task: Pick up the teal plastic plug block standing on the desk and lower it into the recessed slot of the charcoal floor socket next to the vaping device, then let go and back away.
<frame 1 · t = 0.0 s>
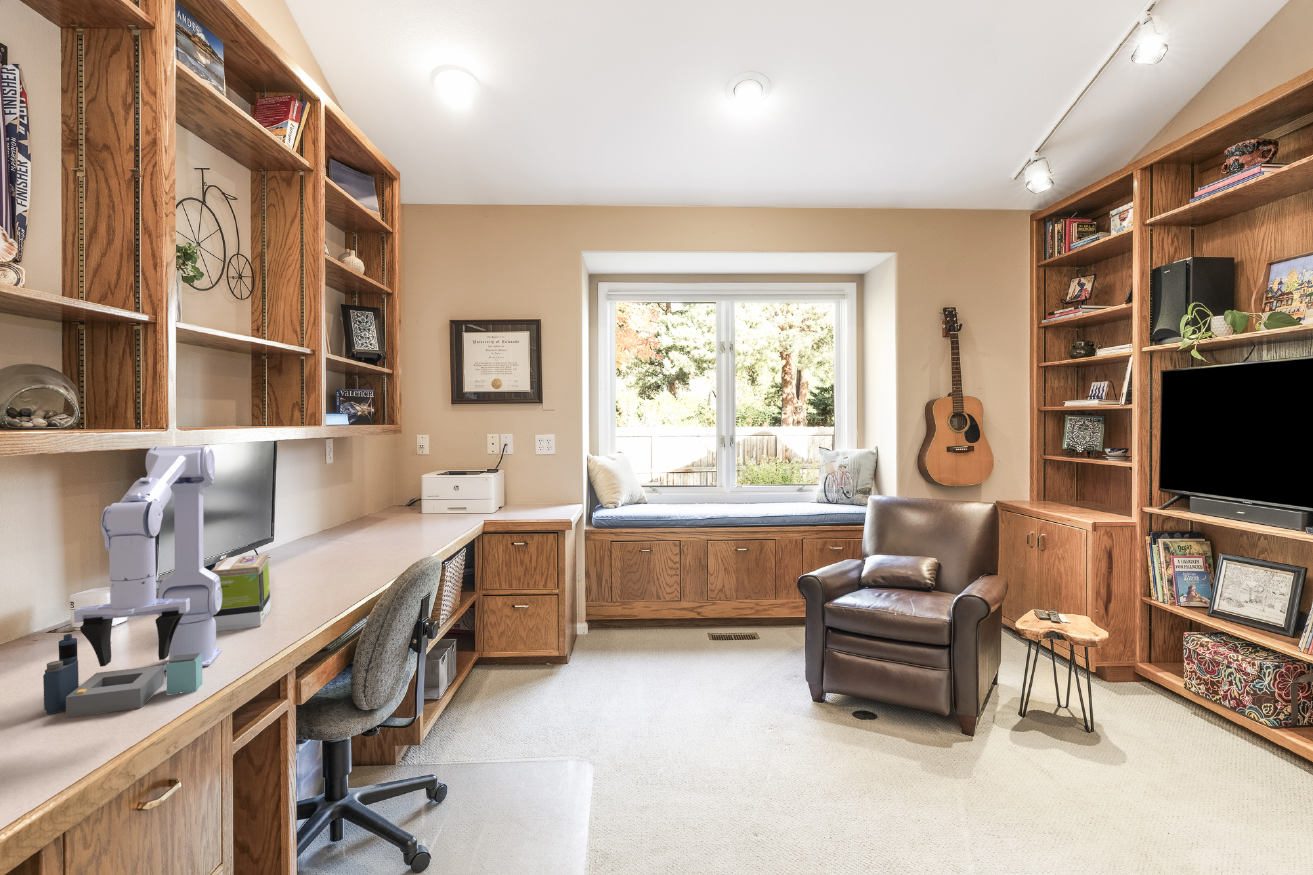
hand: (135, 661, 103), 10 cm above the table, tool pointing down, fingers open, 7 cm apart
tea box: (242, 621, 156), on the table
plug: (185, 689, 116), on the table
vaping device: (62, 708, 109), on the table
socket: (118, 699, 112), on the table
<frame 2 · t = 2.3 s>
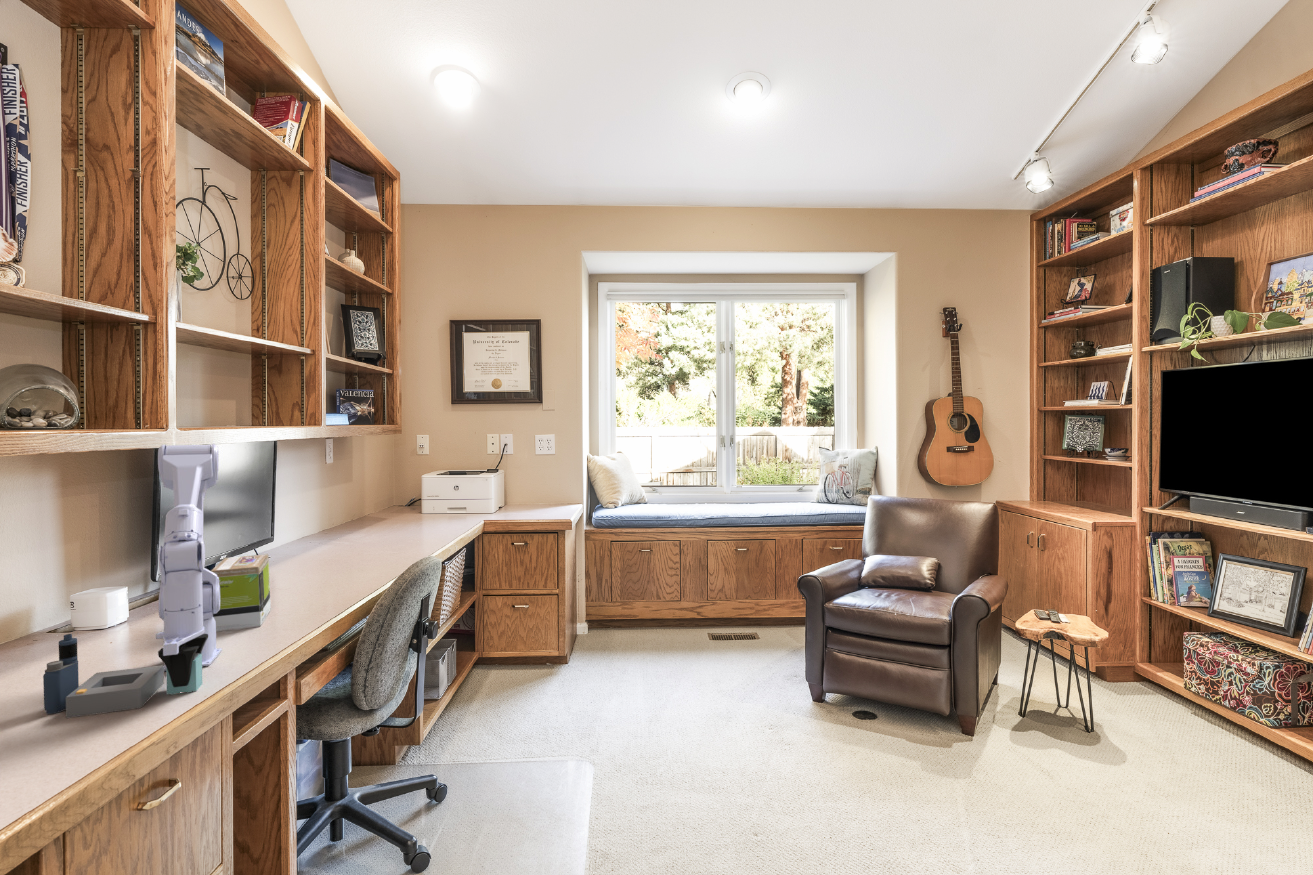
hand: (184, 681, 116), 1 cm above the table, tool pointing down, fingers closed on plug, 4 cm apart
plug: (185, 689, 116), on the table, touching gripper
everything else where it was.
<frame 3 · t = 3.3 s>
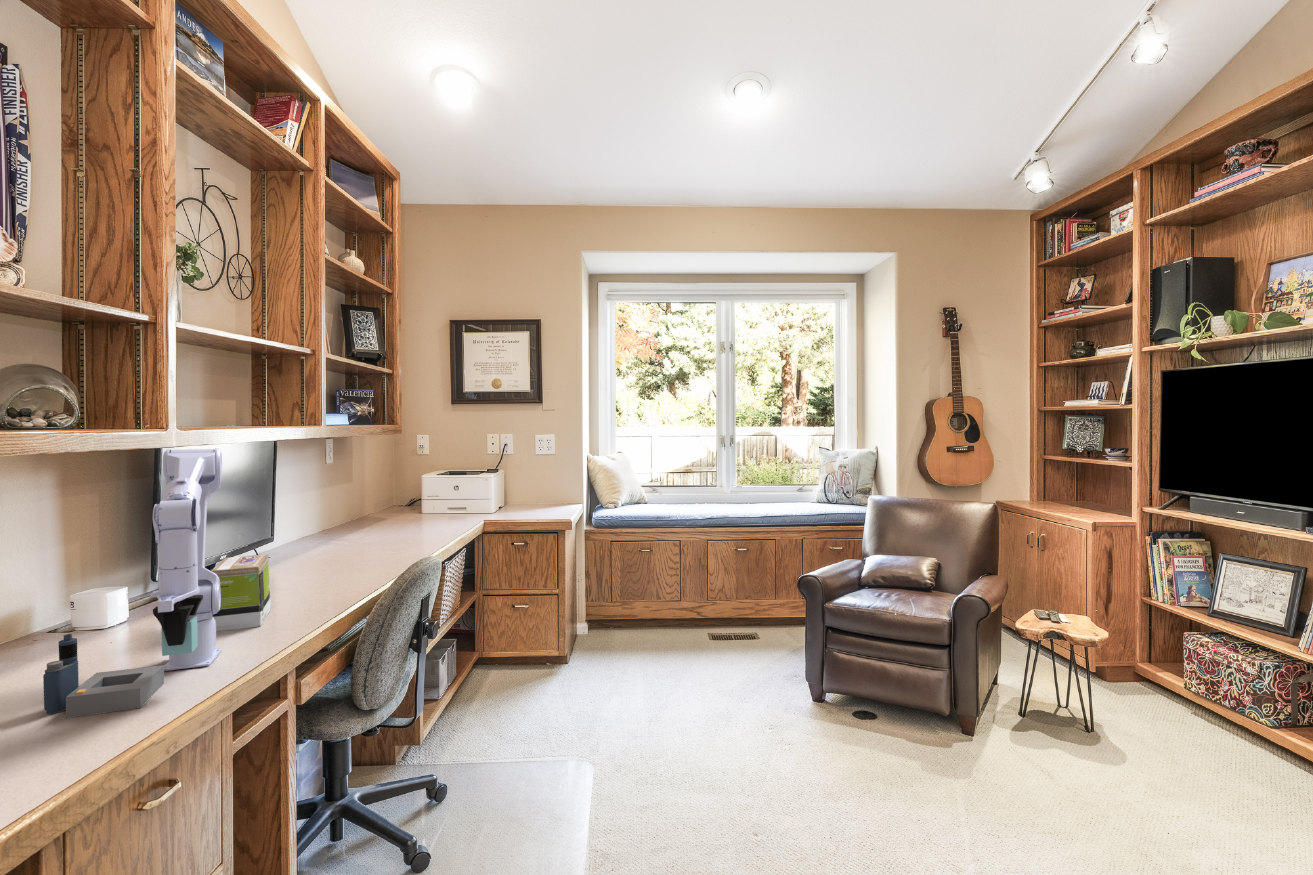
hand: (179, 641, 116), 9 cm above the table, tool pointing down, fingers closed on plug, 4 cm apart
plug: (180, 650, 116), point 7 cm above the table, touching gripper
everything else where it was.
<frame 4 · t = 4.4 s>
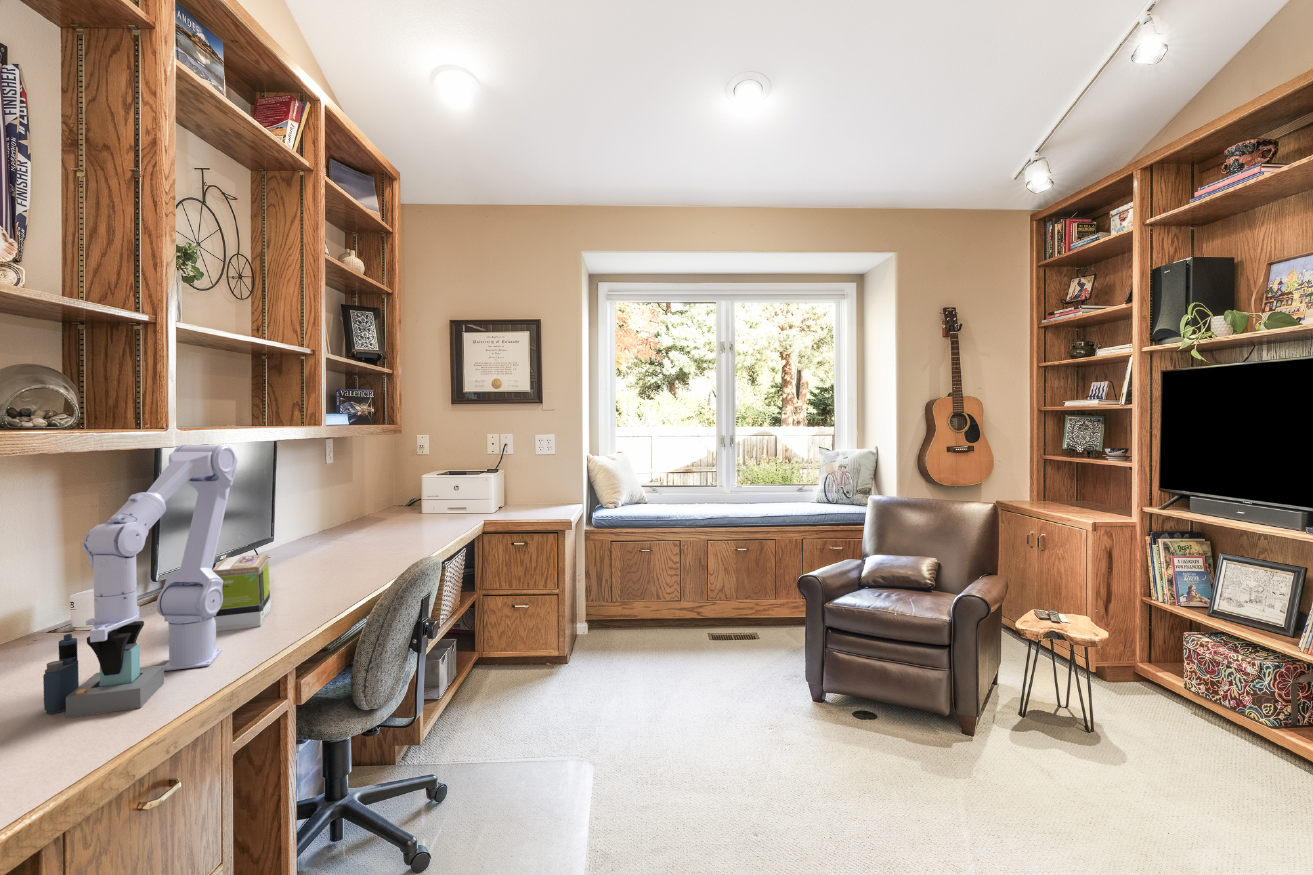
hand: (117, 669, 112), 5 cm above the table, tool pointing down, fingers closed on plug, 4 cm apart
plug: (120, 680, 112), point 3 cm above the table, touching gripper
everything else where it was.
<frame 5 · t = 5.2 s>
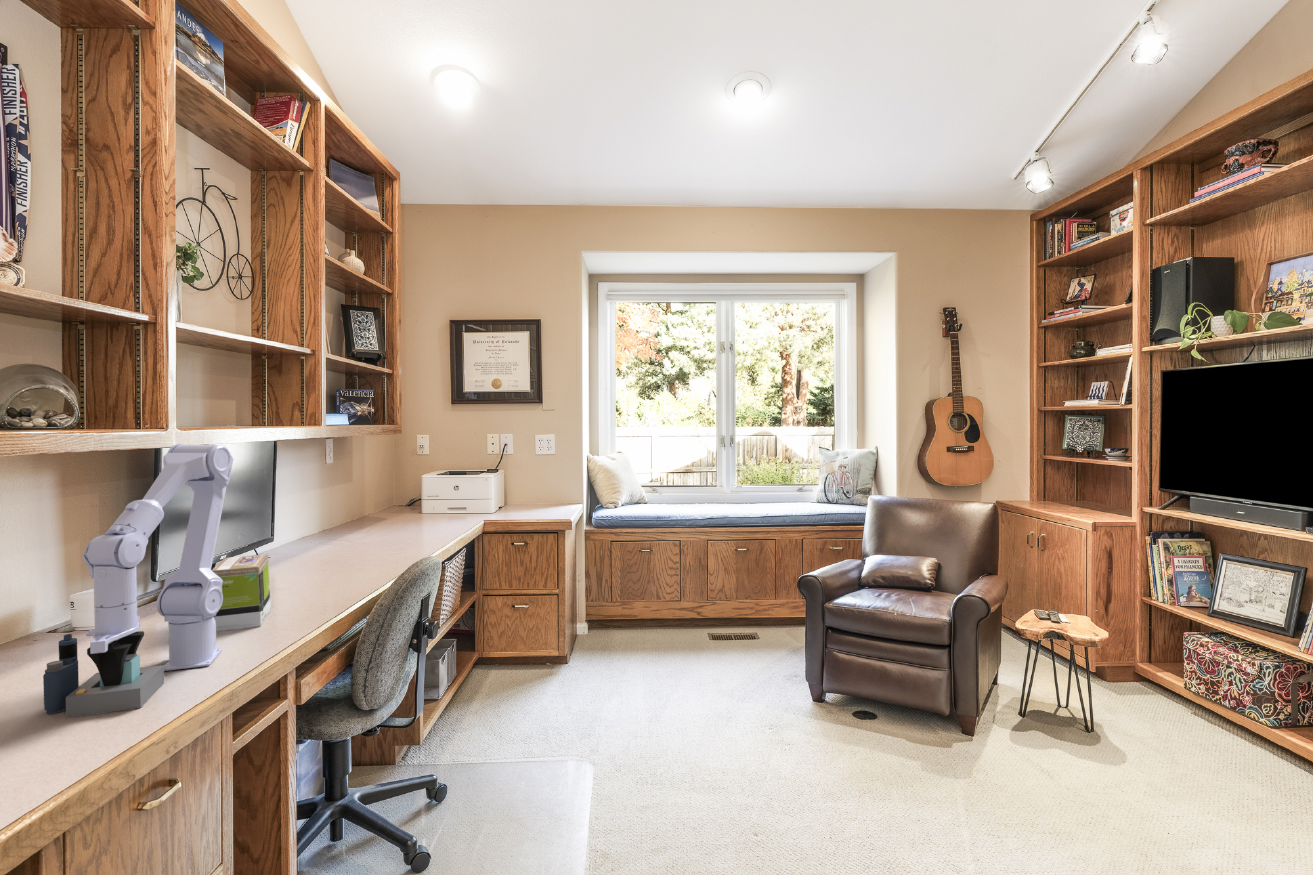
hand: (117, 680, 112), 3 cm above the table, tool pointing down, fingers closed on plug, socket, 4 cm apart
plug: (120, 691, 112), point 1 cm above the table, touching gripper
everything else where it was.
when the fingers open (3 cm above the table, at t = 6.6 s): plug stays where it is, resting on socket.
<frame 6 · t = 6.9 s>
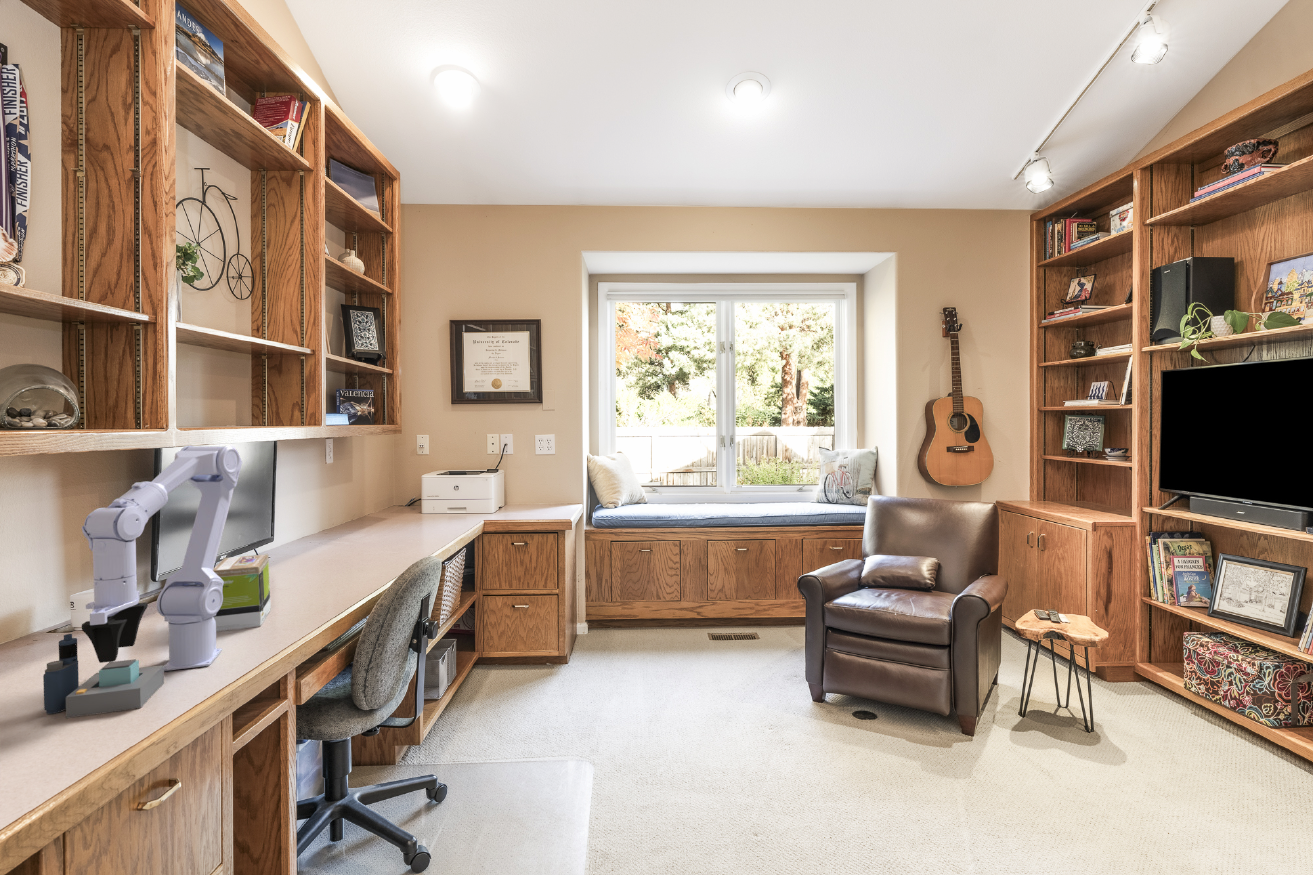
hand: (117, 653, 112), 8 cm above the table, tool pointing down, fingers open, 7 cm apart
plug: (119, 697, 112), resting on socket
everything else where it was.
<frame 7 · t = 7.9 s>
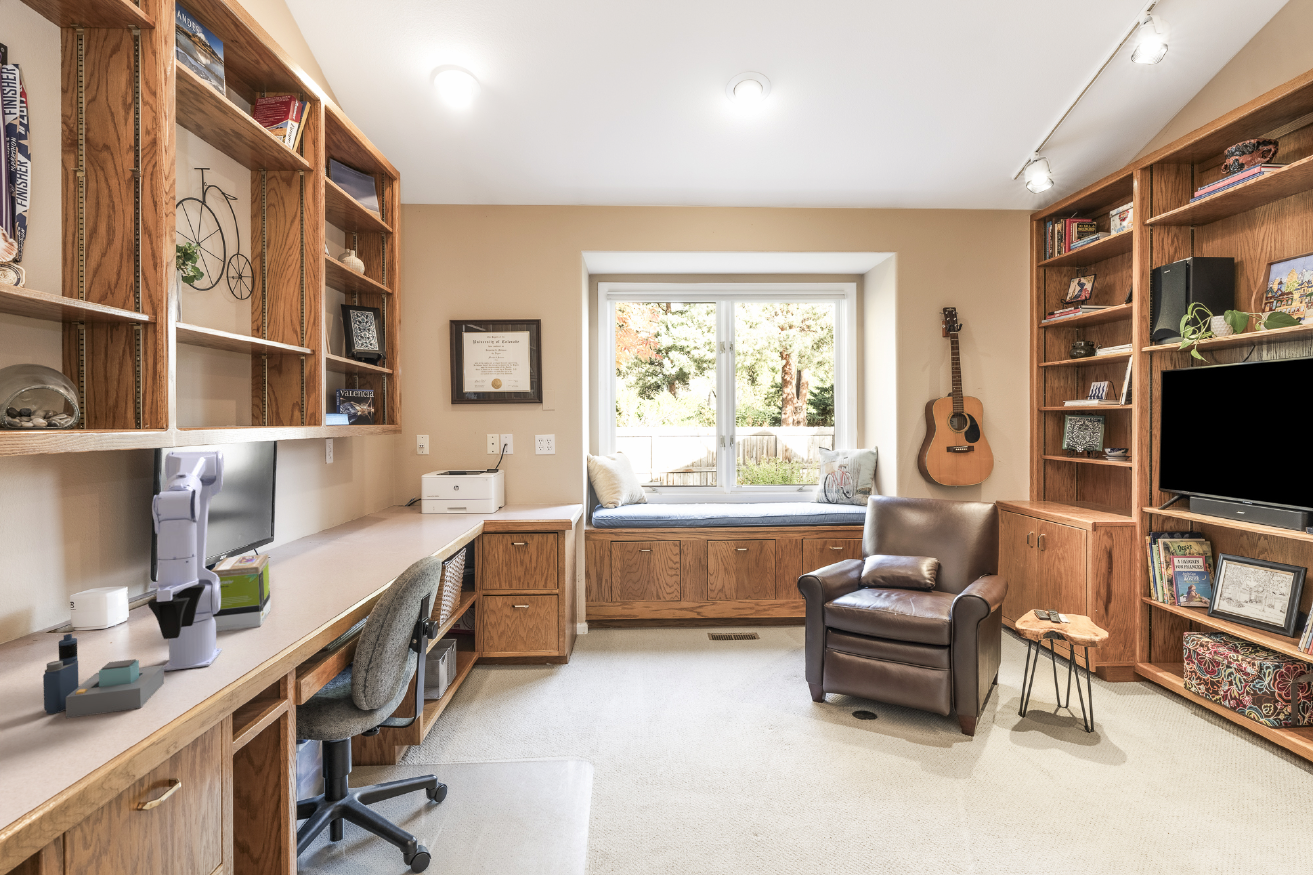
hand: (178, 632, 116), 10 cm above the table, tool pointing down, fingers open, 7 cm apart
nothing on the table moved.
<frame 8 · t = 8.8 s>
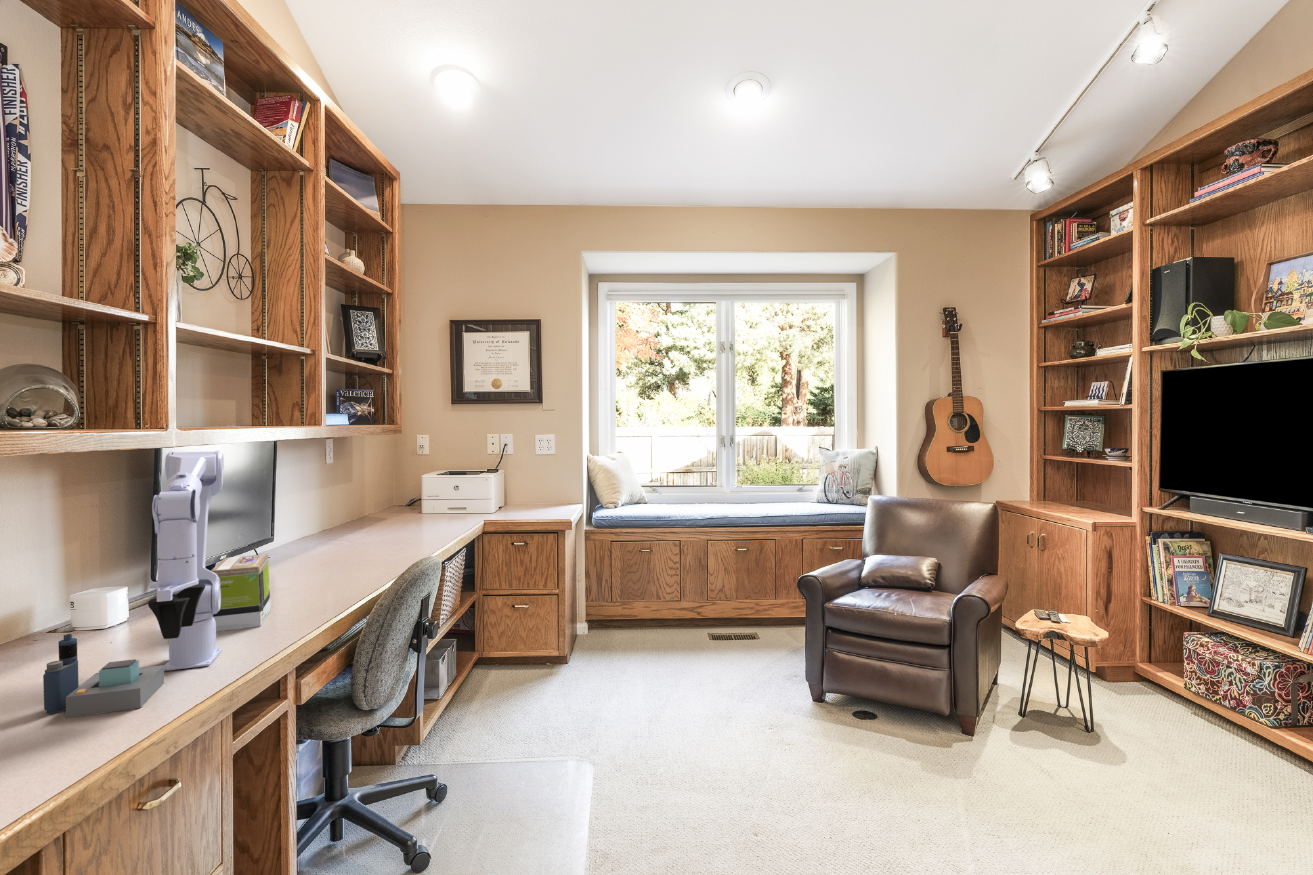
hand: (178, 632, 116), 10 cm above the table, tool pointing down, fingers open, 7 cm apart
nothing on the table moved.
at the end: plug 0.3 cm off-centre on the socket, point 0.4 cm above the socket's base; plug tilted 0°; the gripper is holding nothing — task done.
